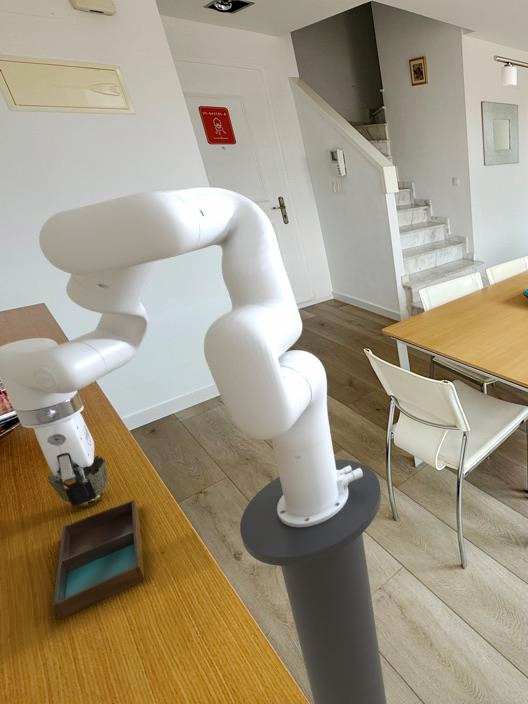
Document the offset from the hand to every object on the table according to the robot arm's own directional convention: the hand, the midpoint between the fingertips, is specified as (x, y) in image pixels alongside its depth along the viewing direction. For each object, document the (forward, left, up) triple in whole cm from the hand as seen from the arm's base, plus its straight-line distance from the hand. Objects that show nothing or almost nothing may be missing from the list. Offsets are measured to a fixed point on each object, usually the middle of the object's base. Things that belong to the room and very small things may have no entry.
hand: (85, 488), depth 78 cm
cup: (0, 0, -3) cm, 3 cm away
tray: (-2, +18, -3) cm, 18 cm away
